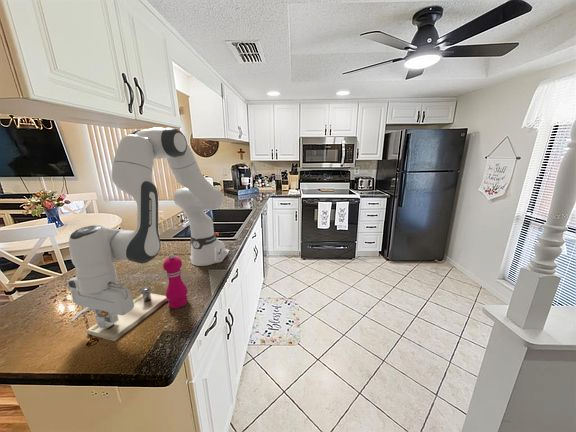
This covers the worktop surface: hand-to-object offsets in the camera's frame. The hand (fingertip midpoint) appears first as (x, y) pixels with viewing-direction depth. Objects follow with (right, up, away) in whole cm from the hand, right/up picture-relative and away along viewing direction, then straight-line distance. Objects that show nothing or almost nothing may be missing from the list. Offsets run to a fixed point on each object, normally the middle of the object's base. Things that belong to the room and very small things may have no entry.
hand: (107, 319), depth 70 cm
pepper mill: (+15, -1, +15) cm, 21 cm away
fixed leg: (+4, +1, +14) cm, 14 cm away
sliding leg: (0, -2, +1) cm, 2 cm away
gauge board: (+2, -2, +8) cm, 9 cm away
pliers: (-14, -1, +13) cm, 20 cm away
